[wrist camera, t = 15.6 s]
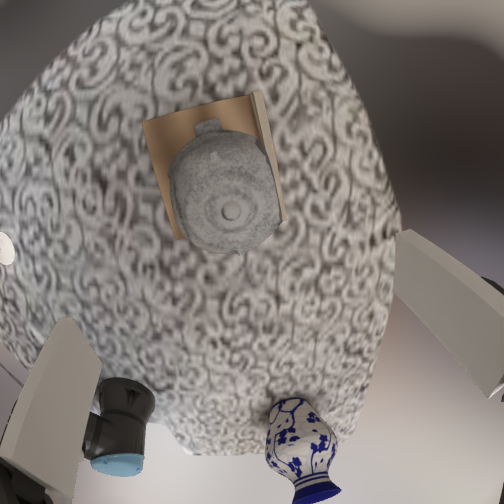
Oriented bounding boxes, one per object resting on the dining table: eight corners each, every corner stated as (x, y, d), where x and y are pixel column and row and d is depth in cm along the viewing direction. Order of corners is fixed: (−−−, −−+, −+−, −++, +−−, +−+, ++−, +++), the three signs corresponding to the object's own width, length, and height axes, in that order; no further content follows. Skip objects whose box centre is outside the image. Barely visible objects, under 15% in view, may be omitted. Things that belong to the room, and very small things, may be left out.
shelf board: (176, 238, 47) (173, 249, 43) (142, 122, 38) (136, 122, 34) (281, 211, 48) (288, 219, 44) (257, 93, 39) (262, 90, 35)
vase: (316, 380, 69) (356, 476, 42) (323, 412, 77) (355, 491, 50) (247, 402, 68) (268, 503, 41) (265, 430, 77) (285, 512, 50)
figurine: (234, 115, 40) (269, 100, 17) (255, 201, 46) (304, 280, 23) (172, 132, 39) (128, 139, 17) (197, 217, 45) (190, 311, 23)
